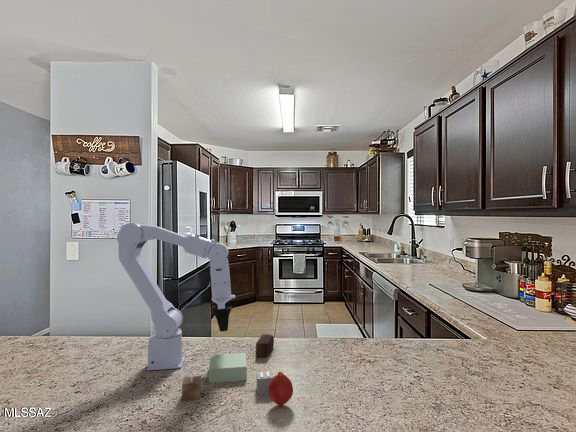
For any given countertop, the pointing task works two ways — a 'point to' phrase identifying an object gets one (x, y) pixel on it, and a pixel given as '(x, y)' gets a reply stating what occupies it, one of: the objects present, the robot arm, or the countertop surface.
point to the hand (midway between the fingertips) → (224, 327)
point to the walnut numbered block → (191, 388)
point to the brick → (264, 346)
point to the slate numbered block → (263, 381)
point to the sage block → (228, 367)
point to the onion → (280, 389)
